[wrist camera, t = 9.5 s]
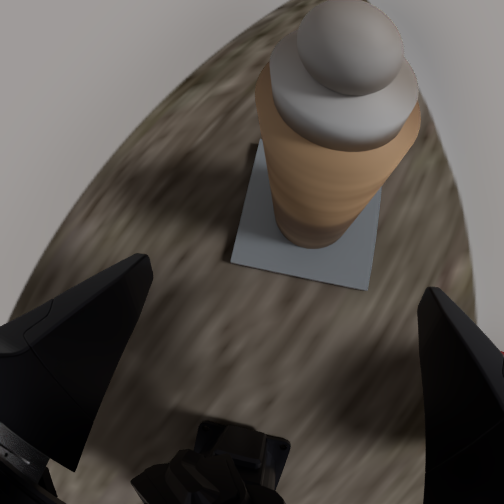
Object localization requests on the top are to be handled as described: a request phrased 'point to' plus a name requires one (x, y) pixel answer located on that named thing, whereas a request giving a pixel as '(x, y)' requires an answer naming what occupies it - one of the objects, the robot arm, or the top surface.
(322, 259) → the plate
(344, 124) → the pepper mill
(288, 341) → the top surface
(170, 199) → the top surface
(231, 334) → the top surface
